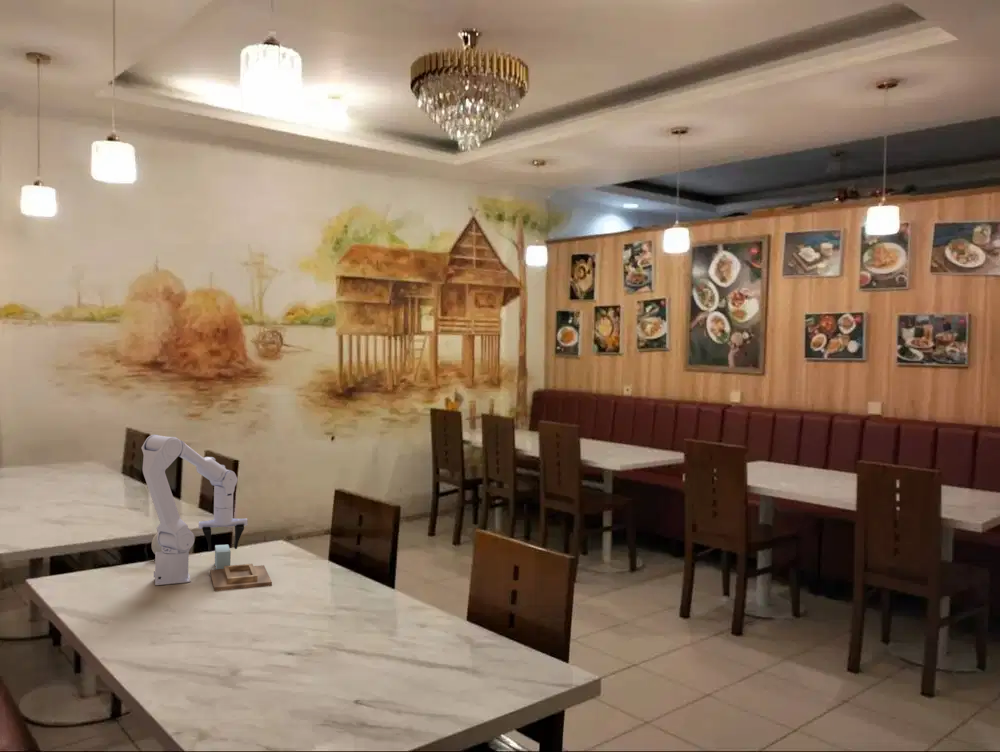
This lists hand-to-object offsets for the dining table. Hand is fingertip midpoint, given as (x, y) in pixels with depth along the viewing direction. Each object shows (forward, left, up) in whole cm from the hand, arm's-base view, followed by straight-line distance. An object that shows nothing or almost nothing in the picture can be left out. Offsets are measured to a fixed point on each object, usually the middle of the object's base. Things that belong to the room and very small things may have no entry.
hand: (222, 549), depth 238 cm
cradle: (+4, -15, -6) cm, 17 cm away
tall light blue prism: (0, 0, -6) cm, 6 cm away
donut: (-16, +16, -6) cm, 23 cm away
